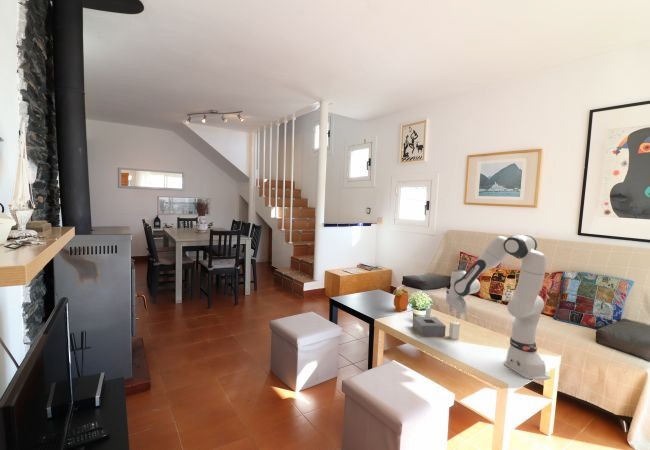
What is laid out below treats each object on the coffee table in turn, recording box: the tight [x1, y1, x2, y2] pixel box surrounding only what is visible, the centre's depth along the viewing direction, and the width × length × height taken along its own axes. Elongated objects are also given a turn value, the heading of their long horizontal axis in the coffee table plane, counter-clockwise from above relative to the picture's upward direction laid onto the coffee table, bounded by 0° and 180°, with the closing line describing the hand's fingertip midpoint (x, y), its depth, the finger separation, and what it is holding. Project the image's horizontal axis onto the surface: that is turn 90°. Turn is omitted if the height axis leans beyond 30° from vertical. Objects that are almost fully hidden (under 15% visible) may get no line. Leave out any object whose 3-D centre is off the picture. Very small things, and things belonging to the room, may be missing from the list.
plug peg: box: [448, 320, 461, 340], centre depth 212 cm, size 4×4×11 cm
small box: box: [425, 306, 432, 317], centre depth 240 cm, size 8×6×10 cm
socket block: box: [412, 316, 447, 337], centre depth 221 cm, size 16×16×7 cm
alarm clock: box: [393, 285, 410, 313], centre depth 261 cm, size 13×6×20 cm, turn 133°
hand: (454, 315), depth 212 cm, fingers open, 8 cm apart
